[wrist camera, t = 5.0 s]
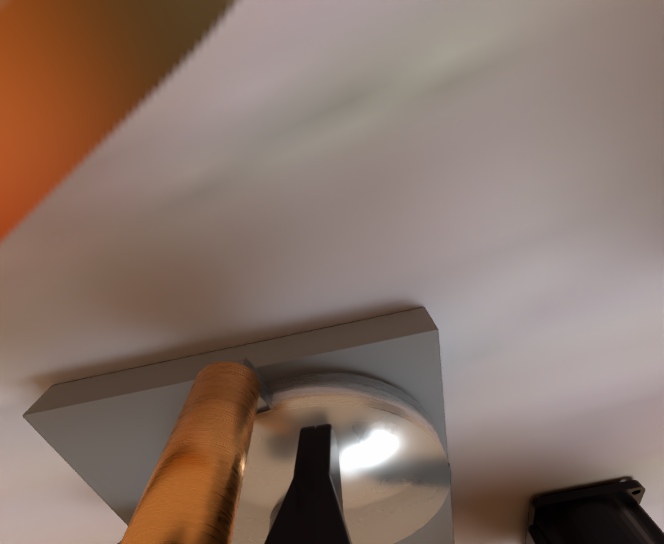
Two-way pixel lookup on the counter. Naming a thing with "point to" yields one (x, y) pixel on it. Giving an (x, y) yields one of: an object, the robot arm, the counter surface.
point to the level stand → (272, 363)
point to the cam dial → (289, 458)
